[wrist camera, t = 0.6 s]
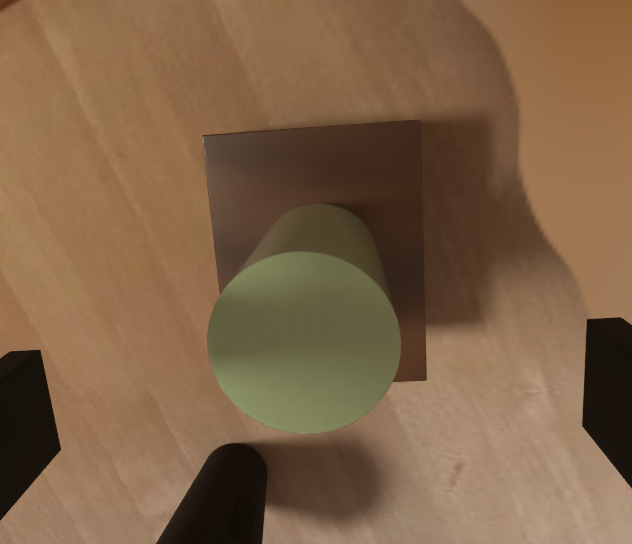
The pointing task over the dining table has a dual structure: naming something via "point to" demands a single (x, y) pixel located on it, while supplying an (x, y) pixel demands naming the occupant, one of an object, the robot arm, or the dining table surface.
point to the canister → (307, 324)
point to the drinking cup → (222, 501)
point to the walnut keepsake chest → (328, 202)
